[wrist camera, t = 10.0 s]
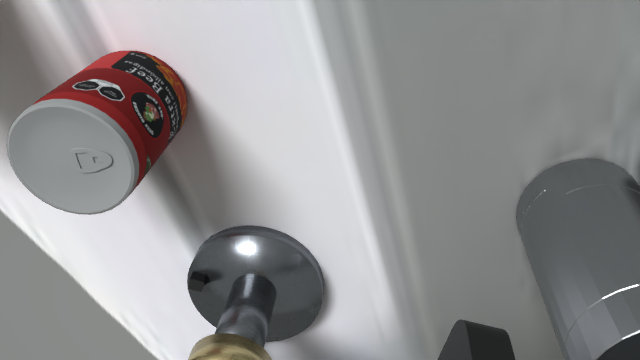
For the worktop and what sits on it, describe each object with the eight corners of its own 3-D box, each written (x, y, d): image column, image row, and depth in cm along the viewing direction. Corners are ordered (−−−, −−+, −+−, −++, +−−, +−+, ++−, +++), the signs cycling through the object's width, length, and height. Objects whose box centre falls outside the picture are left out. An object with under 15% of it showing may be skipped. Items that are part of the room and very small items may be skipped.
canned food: (208, 122, 44) (158, 195, 34) (123, 153, 46) (54, 230, 37) (158, 30, 41) (88, 82, 31) (69, 68, 43) (-22, 128, 33)
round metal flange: (338, 245, 48) (328, 324, 40) (307, 342, 54) (293, 429, 46) (201, 210, 48) (162, 283, 40) (185, 312, 54) (149, 393, 46)
